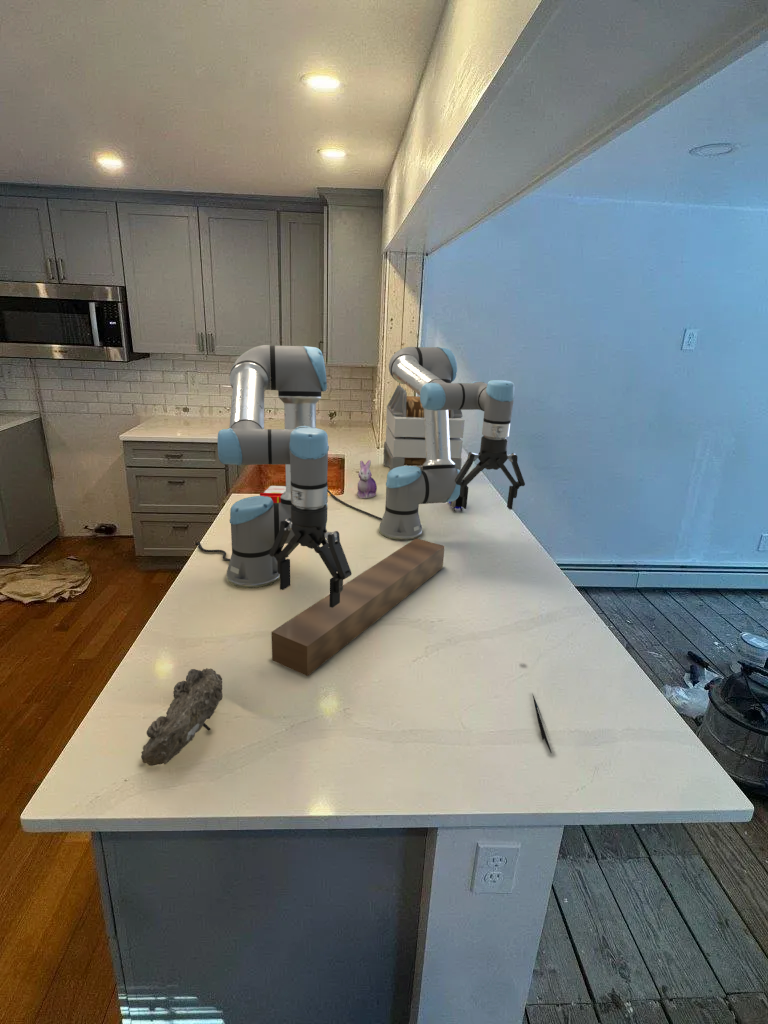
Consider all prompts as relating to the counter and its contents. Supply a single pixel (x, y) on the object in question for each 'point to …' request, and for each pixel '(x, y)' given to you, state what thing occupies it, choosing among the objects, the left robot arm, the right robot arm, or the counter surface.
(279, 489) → the toy
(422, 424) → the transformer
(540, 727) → the feather
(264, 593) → the counter surface
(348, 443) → the counter surface
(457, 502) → the figurine character
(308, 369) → the left robot arm
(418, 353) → the right robot arm
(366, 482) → the figurine
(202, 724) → the fossil
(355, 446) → the counter surface
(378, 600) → the thick board
